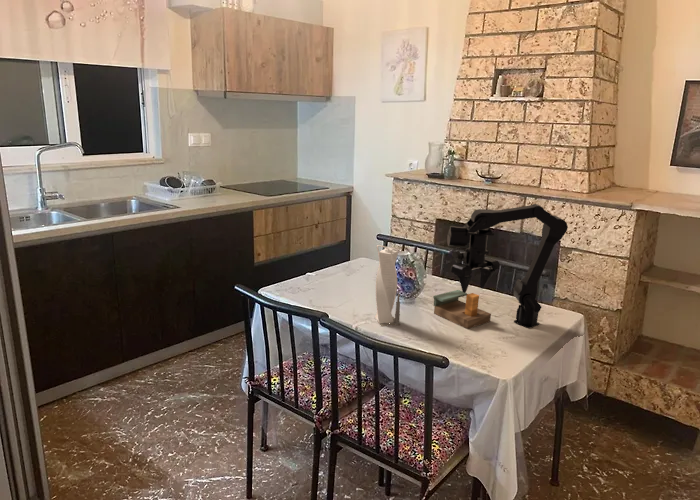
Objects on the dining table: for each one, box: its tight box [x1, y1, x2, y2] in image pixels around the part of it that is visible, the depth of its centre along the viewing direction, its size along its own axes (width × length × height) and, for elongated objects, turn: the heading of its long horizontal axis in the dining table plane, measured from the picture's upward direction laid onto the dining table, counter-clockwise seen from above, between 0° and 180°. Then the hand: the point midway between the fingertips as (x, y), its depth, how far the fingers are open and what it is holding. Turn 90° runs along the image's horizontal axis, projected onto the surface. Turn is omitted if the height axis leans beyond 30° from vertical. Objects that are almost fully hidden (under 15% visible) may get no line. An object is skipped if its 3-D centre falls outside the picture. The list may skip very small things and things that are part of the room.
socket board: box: [432, 289, 492, 330], centre depth 188 cm, size 16×13×7 cm
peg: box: [465, 292, 480, 317], centre depth 185 cm, size 3×3×10 cm
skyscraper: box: [374, 244, 401, 327], centre depth 180 cm, size 8×8×28 cm
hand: (473, 290), depth 183 cm, fingers open, 9 cm apart
